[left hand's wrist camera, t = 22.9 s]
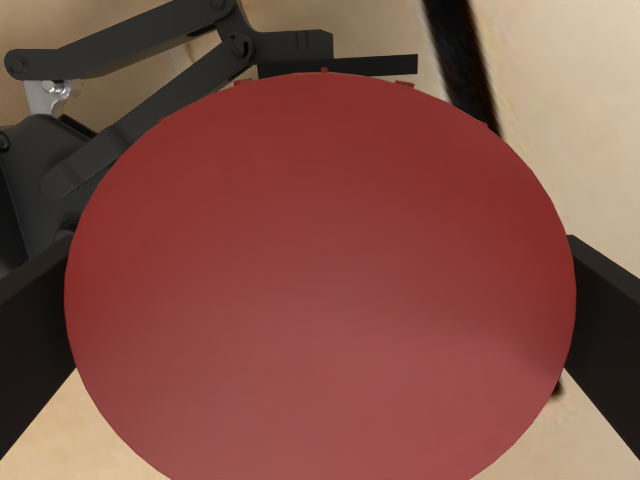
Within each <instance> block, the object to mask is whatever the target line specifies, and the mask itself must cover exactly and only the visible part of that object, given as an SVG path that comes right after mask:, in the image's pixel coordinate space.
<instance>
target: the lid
mask: <svg viewBox="0 0 640 480" xmlns="http://www.w3.org/2000/svg"><path fill="white" fill-rule="evenodd" d="M234 85H235V86H234V87H231V88H228V89H225V90H222V91H219V92H216V93H213V94H210V95H208V96H206V97H204V98H202V99H200V100H198V101H196V102H194V103H192V104H190V105H188V106H186V107H184V108H182V109H180V110H178V111H176V112H175V113H173V114H172V115H170V116H167V117H163V118H161V119H160V120H158V122H159V124H157V125H156V126H154V127H153V128H152V129H150V130H149V131H147V132H146V133H145V134H144V135H143V136H142V137H141V138H139V139H138V140H137V141H136V142H135V143H134V144H133V145H132V146H131V147H130V148H129V149H128V150H127V151H126V152H125V153H123V154H122V155H121V156H120V157H119V159H118V160H117V161H116V162H115V164H114V165H113V166H112V168H111V169H110V170H109V171H108V173H107V174H106V175H105V176H104V178H103V179H102V180H101V182H100V183H99V184H98V186H97V188H96V189H95V191H94V193H93V195H92V197H91V198H90V200H89V202H88V204H87V206H86V207H85V209H84V211H83V213H82V215H81V218H80V221H79V223H78V226H77V229H76V232H75V234H74V237H73V240H72V242H71V246H70V251H69V257H68V262H67V267H66V272H65V285H64V312H65V320H66V329H67V336H68V340H69V343H70V347H71V351H72V355H73V358H74V362H75V364H76V367H77V369H78V372H79V374H80V376H81V379H82V381H83V383H84V386H85V388H86V390H87V391H88V393H89V395H90V396H91V398H92V400H93V402H94V403H95V405H96V407H97V408H98V410H99V412H100V413H101V414H102V416H103V417H104V418H105V420H106V421H107V422H108V423H109V425H110V426H111V427H112V429H113V430H114V431H115V432H116V434H117V435H118V436H119V437H120V438H121V439H122V440H123V441H124V442H125V443H126V444H127V445H128V446H129V447H130V448H131V449H132V450H133V451H134V452H135V453H136V454H137V455H139V456H140V457H141V458H142V459H144V460H145V461H146V462H147V463H149V464H150V465H151V466H152V467H154V468H155V469H156V470H157V471H159V472H160V473H162V474H163V475H165V476H167V477H168V478H170V479H171V480H470V479H471V478H473V477H474V476H475V475H477V474H478V473H480V472H481V471H482V470H484V469H485V468H487V467H488V466H489V465H491V464H492V463H494V462H495V461H496V460H497V459H498V458H499V457H500V456H501V455H503V454H504V453H505V452H506V451H507V450H508V449H509V448H510V447H511V446H513V445H514V444H515V442H516V441H517V440H518V439H519V438H520V437H521V436H522V435H523V433H524V432H525V431H526V430H527V429H528V428H529V427H530V426H531V424H532V423H533V422H534V420H535V419H536V417H537V416H538V414H539V413H540V411H541V410H542V408H543V407H544V406H545V404H546V403H547V401H548V399H549V397H550V395H551V393H552V392H553V390H554V388H555V386H556V384H557V382H558V380H559V378H560V376H561V373H562V370H563V367H564V364H565V361H566V358H567V356H568V353H569V350H570V346H571V340H572V335H573V330H574V325H575V317H576V291H577V290H576V281H575V273H574V264H573V258H572V254H571V251H570V247H569V243H568V240H567V236H566V233H565V229H564V227H563V225H562V222H561V220H560V218H559V216H558V214H557V211H556V209H555V207H554V205H553V203H552V201H551V199H550V197H549V196H548V194H547V193H546V191H545V190H544V188H543V187H542V185H541V183H540V182H539V180H538V179H537V177H536V176H535V174H534V173H533V171H532V170H531V169H530V168H529V167H528V166H527V165H526V164H525V162H524V161H523V160H522V159H521V158H520V157H519V156H518V155H517V154H516V153H515V151H514V150H513V149H512V148H511V147H510V146H509V145H508V144H507V143H506V142H504V141H503V140H502V139H501V138H499V137H498V136H497V135H496V134H495V133H493V132H492V131H491V130H490V129H488V128H487V127H488V125H487V124H486V123H484V122H481V121H478V120H476V119H475V118H473V117H471V116H470V115H468V114H466V113H465V112H463V111H461V110H459V109H458V108H456V107H454V106H453V105H451V104H449V103H448V102H446V101H443V100H441V99H438V98H436V97H433V96H431V95H428V94H426V93H423V92H421V91H419V90H416V89H414V85H415V84H413V83H409V82H403V81H398V80H396V81H395V83H392V82H388V81H384V80H380V79H376V78H372V77H367V76H362V75H354V74H344V73H335V72H327V68H321V72H309V73H293V74H287V75H281V76H276V77H270V78H264V79H259V80H254V81H252V79H251V78H248V79H242V80H237V81H234Z"/></svg>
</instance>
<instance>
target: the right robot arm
mask: <svg viewBox="0 0 640 480" xmlns="http://www.w3.org/2000/svg"><path fill="white" fill-rule="evenodd" d="M215 30H217V31H218V33H219V36H220V38H221V40H222V43H220V44H219V45H218V46H216V47H215V48H214V49H212V50H211V51H210V52H209V53H207V54H206V55H205V56H203V57H202V58H201V59H199V60H198V61H197V62H195V63H194V64H193V65H191V66H190V67H189V68H187V69H186V70H185V71H184V72H182V73H181V74H180V75H178V76H177V77H176V78H174V79H173V80H172V81H170V82H169V83H168V84H166V85H165V86H164V87H163V88H161V89H160V90H159V91H157V92H156V93H155V94H153V95H152V96H151V97H149V98H148V99H147V100H145V101H144V102H143V103H141V104H140V105H139V106H138V107H136V108H135V109H134V110H132V111H131V112H130V113H128V114H127V115H126V116H124V117H123V118H122V119H120V120H119V121H118V122H116V123H115V124H113V125H111V126H109V127H107V128H106V129H104V130H103V131H101V132H100V133H99V134H98V133H96V132H95V131H93V130H91V129H90V128H88V127H86V126H84V125H83V124H81V123H79V122H78V121H76V120H74V119H73V118H71V117H69V116H68V115H65V114H63V106H64V104H65V102H66V101H67V100H69V99H72V98H75V97H77V96H78V95H79V94H80V92H81V89H82V81H81V79H91V78H96V77H100V76H103V75H106V74H109V73H112V72H114V71H117V70H119V69H121V68H124V67H126V66H129V65H131V64H134V63H136V62H139V61H141V60H144V59H146V58H148V57H151V56H153V55H156V54H158V53H161V52H163V51H166V50H168V49H171V48H173V47H175V46H178V45H180V44H183V43H185V42H188V41H190V40H193V39H195V38H198V37H200V36H202V35H205V34H207V33H210V32H212V31H215ZM4 64H5V67H6V70H7V72H8V73H9V74H10V75H11V76H12V77H14V78H15V79H17V80H22V81H23V84H24V88H25V93H26V98H27V102H28V107H29V112H30V116H28V117H26V118H25V119H24V120H23V121H21V122H20V123H18V124H16V125H13V126H0V279H1V278H3V277H4V276H6V275H7V274H9V273H10V272H12V271H13V270H15V269H16V268H18V267H19V266H21V265H22V264H24V263H25V262H27V261H28V260H30V259H31V258H33V257H34V256H36V255H37V254H39V253H40V252H42V251H43V250H45V249H46V248H48V247H49V246H51V245H52V244H54V243H56V242H57V241H59V240H60V239H62V238H63V237H65V236H66V235H74V234H75V232H76V229H77V226H78V223H79V221H80V218H81V215H82V213H83V211H84V209H85V207H86V206H87V204H88V202H89V200H90V198H91V197H92V195H93V193H94V191H95V189H96V188H97V186H98V184H99V183H100V182H101V180H102V179H103V178H104V176H105V175H106V174H107V173H108V171H109V170H110V169H111V168H112V166H113V165H114V164H115V162H116V161H117V160H118V159H119V157H120V156H121V155H122V154H123V153H125V152H126V151H127V150H128V149H129V148H130V147H131V146H132V145H133V144H134V143H135V142H136V141H137V140H138V139H139V138H141V137H142V136H143V135H144V134H145V133H146V132H147V131H149V130H150V129H152V128H153V127H154V126H156V125H157V124H159V122H158V120H160V119H161V118H163V117H167V116H170V115H172V114H173V113H175V112H176V111H178V110H180V109H182V108H184V107H186V106H188V105H190V104H192V103H194V102H196V101H198V100H200V99H202V98H204V97H206V96H208V95H210V94H213V93H216V92H218V91H219V90H220V89H222V88H223V87H224V86H226V85H227V84H228V83H230V82H231V81H233V80H234V79H235V78H237V77H238V76H239V75H241V74H242V73H243V72H245V71H246V70H247V69H249V68H250V67H252V66H253V65H257V67H258V78H259V79H264V78H270V77H276V76H281V75H287V74H293V73H309V72H321V68H327V72H335V73H344V74H354V75H362V76H367V77H370V76H388V75H406V74H417V69H418V54H410V55H392V56H375V57H357V58H339V59H334V55H333V34H331V33H329V32H326V31H323V30H321V29H318V30H300V31H283V32H265V33H263V32H257V31H255V30H254V29H253V28H252V27H251V25H250V23H249V21H248V19H247V17H246V14H245V12H244V10H243V7H242V2H241V1H240V0H173V1H171V2H168V3H166V4H164V5H161V6H159V7H156V8H154V9H152V10H149V11H147V12H145V13H142V14H140V15H137V16H135V17H133V18H130V19H128V20H126V21H123V22H121V23H118V24H116V25H114V26H111V27H109V28H107V29H104V30H102V31H99V32H97V33H95V34H92V35H90V36H88V37H85V38H83V39H80V40H78V41H76V42H73V43H71V44H69V45H66V46H64V47H61V48H59V49H14V50H10V51H9V52H8V53H7V54H6V56H5V58H4Z"/></svg>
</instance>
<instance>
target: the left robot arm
mask: <svg viewBox="0 0 640 480" xmlns="http://www.w3.org/2000/svg"><path fill="white" fill-rule="evenodd" d="M566 236H567V240H568V243H569V247H570V251H571V254H572V258H573V264H574V273H575V281H576V290H577V291H576V317H575V325H574V330H573V335H572V340H571V346H570V350H569V353H568V356H567V358H566V361H565V364H564V368H565V369H566V371H567V372H568V373H569V374H570V376H571V377H572V378H573V379H574V380H575V382H576V383H577V384H578V385H579V387H580V388H581V389H582V390H583V392H584V393H585V394H586V395H587V396H588V398H589V399H590V400H591V401H592V403H593V404H594V405H595V406H596V407H597V409H598V410H599V411H600V412H601V414H602V415H603V416H604V417H605V419H606V420H607V421H608V422H609V423H610V425H611V426H612V427H613V428H614V430H615V431H616V432H617V433H618V435H619V436H620V437H621V438H622V439H623V441H624V442H625V443H626V444H627V446H628V447H629V448H630V449H631V451H632V452H633V453H634V454H635V455H636V457H637V458H638V459H639V460H640V279H639V278H637V277H636V276H634V275H633V274H631V273H630V272H628V271H627V270H625V269H624V268H622V267H621V266H619V265H618V264H616V263H615V262H613V261H612V260H610V259H609V258H607V257H606V256H604V255H603V254H601V253H600V252H598V251H597V250H595V249H594V248H592V247H591V246H589V245H588V244H586V243H584V242H583V241H581V240H580V239H578V238H577V237H575V236H574V235H566ZM73 237H74V235H66V236H65V237H63V238H62V239H60V240H59V241H57V242H56V243H54V244H52V245H51V246H49V247H48V248H46V249H45V250H43V251H42V252H40V253H39V254H37V255H36V256H34V257H33V258H31V259H30V260H28V261H27V262H25V263H24V264H22V265H21V266H19V267H18V268H16V269H15V270H13V271H12V272H10V273H9V274H7V275H6V276H4V277H3V278H1V279H0V460H1V459H2V458H3V457H4V455H5V454H6V453H7V452H8V451H9V449H10V448H11V447H12V446H13V444H14V443H15V442H16V441H17V439H18V438H19V437H20V436H21V435H22V433H23V432H24V431H25V430H26V428H27V427H28V426H29V425H30V423H31V422H32V421H33V420H34V419H35V417H36V416H37V415H38V414H39V412H40V411H41V410H42V409H43V407H44V406H45V405H46V404H47V403H48V401H49V400H50V399H51V398H52V396H53V395H54V394H55V393H56V391H57V390H58V389H59V388H60V387H61V385H62V384H63V383H64V382H65V380H66V379H67V378H68V377H69V376H70V374H71V373H72V372H73V371H74V369H75V368H76V364H75V362H74V358H73V355H72V351H71V347H70V343H69V340H68V336H67V329H66V320H65V312H64V285H65V272H66V267H67V262H68V257H69V251H70V246H71V242H72V240H73Z"/></svg>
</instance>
